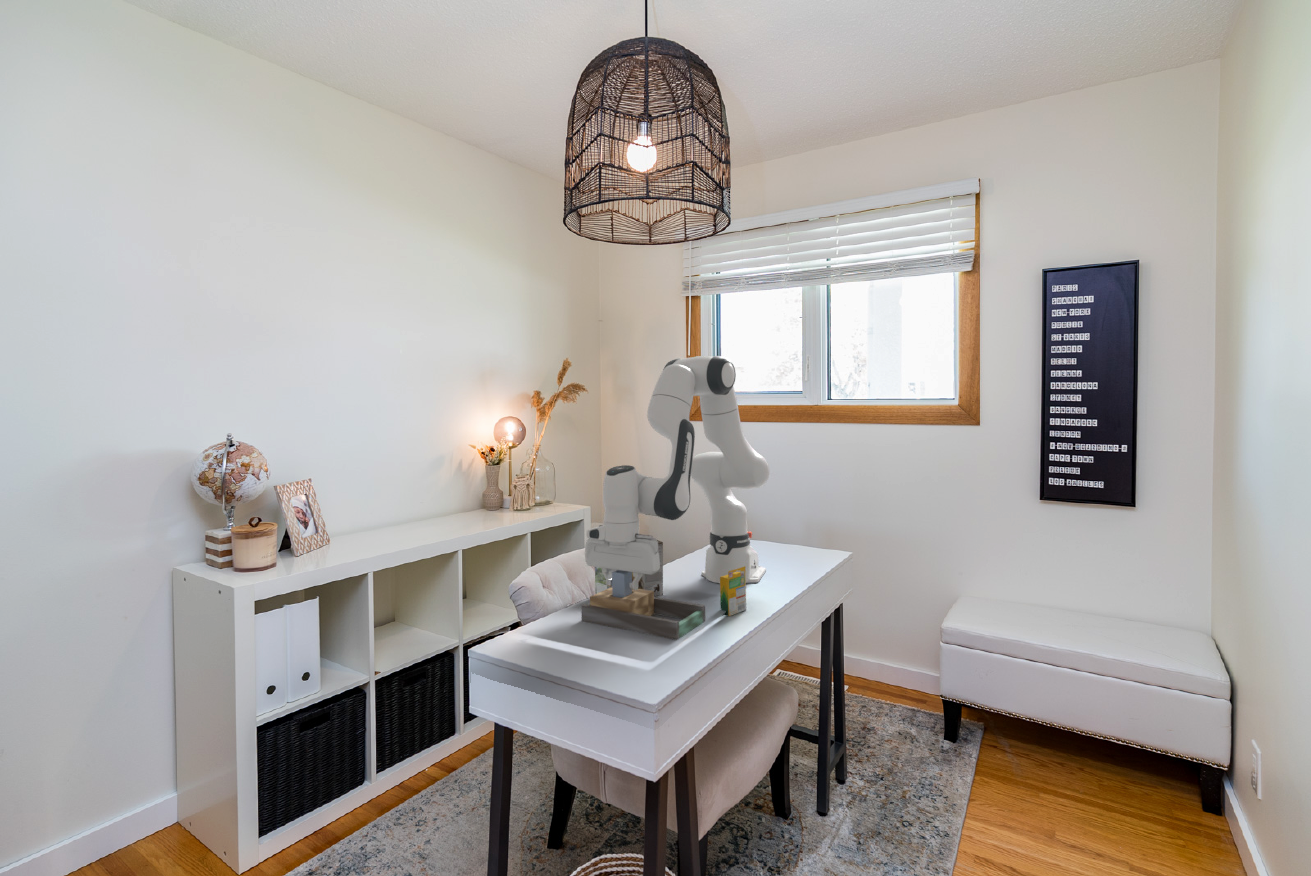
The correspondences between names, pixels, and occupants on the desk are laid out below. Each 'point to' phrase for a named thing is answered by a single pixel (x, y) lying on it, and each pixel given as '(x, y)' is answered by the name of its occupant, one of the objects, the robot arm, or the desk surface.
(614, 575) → the handle peg
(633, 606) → the slotted wooden block
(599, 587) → the syrup box
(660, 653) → the desk surface
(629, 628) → the bay
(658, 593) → the coffee box
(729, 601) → the crayon box
